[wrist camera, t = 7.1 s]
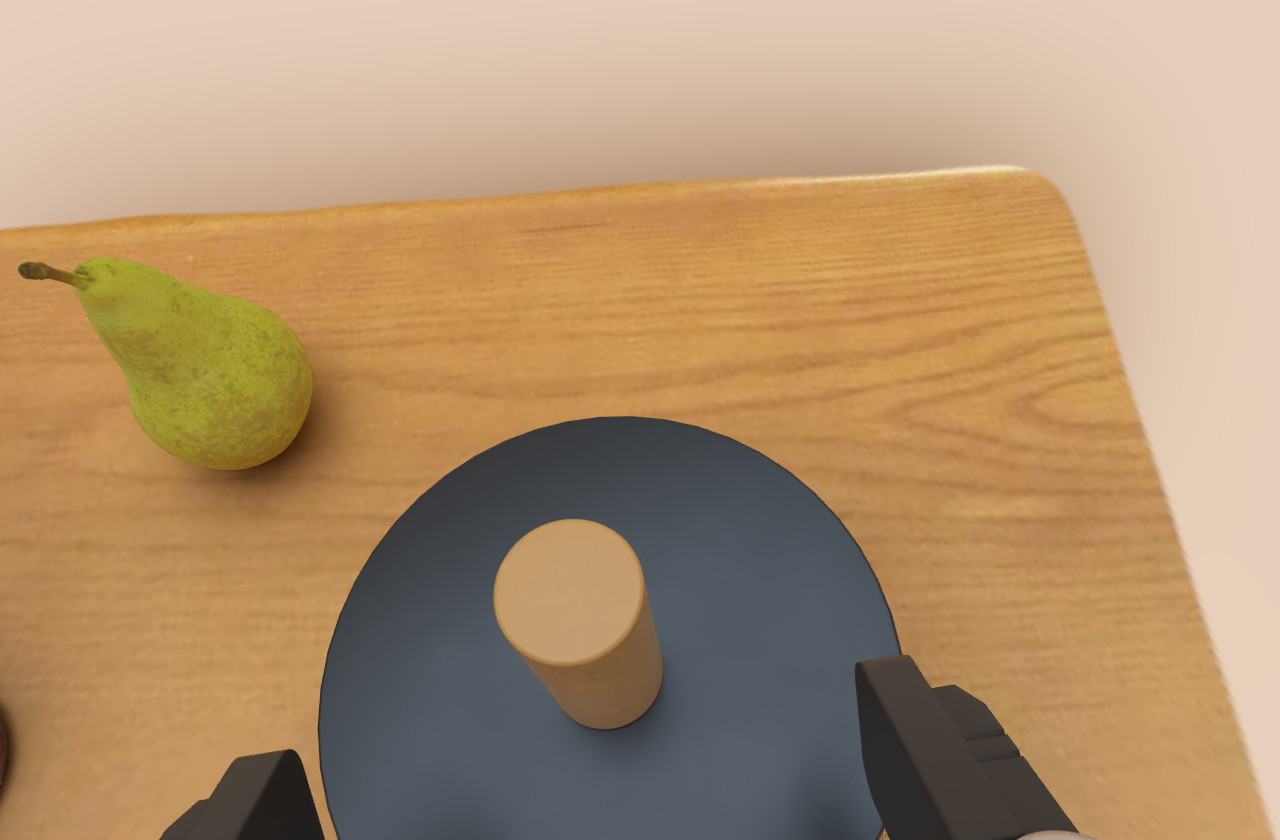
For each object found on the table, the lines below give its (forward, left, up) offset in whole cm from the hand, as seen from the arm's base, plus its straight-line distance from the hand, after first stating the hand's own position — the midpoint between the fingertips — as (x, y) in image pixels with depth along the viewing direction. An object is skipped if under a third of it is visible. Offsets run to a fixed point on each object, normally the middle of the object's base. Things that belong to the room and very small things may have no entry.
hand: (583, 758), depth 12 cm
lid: (0, -2, -6) cm, 7 cm away
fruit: (+10, -17, -15) cm, 25 cm away
